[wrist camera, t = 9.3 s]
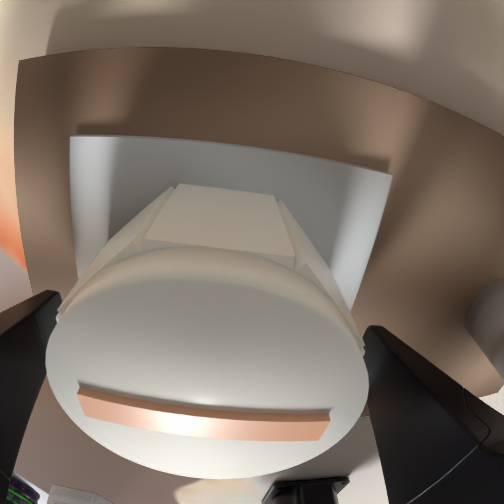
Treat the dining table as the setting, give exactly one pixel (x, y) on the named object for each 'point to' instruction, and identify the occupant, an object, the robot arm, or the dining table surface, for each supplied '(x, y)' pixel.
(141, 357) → the cap
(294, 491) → the robot arm
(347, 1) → the dining table surface
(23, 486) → the storage jar
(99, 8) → the dining table surface
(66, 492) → the supplement box
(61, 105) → the post board
